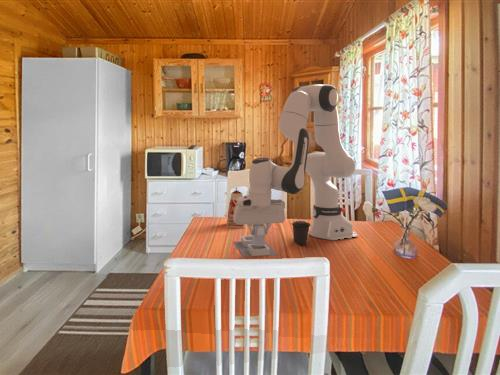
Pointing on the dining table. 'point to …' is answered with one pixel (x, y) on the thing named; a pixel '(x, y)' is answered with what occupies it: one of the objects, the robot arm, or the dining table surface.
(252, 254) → the panel
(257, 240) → the plug
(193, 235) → the dining table surface
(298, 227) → the coffee cup
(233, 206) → the milk carton
